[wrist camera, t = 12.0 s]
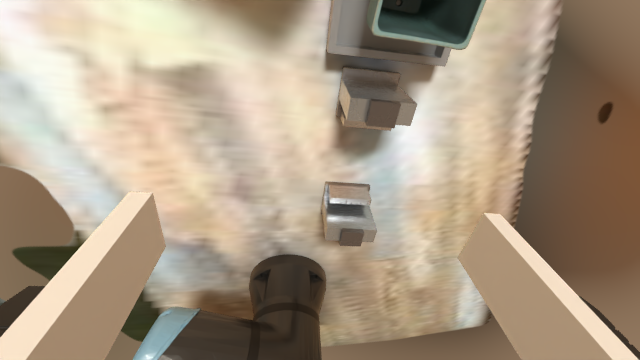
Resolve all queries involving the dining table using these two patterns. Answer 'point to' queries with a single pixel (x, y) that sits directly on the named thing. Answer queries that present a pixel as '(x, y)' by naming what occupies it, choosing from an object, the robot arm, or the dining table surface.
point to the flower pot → (426, 20)
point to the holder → (372, 113)
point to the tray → (374, 38)
